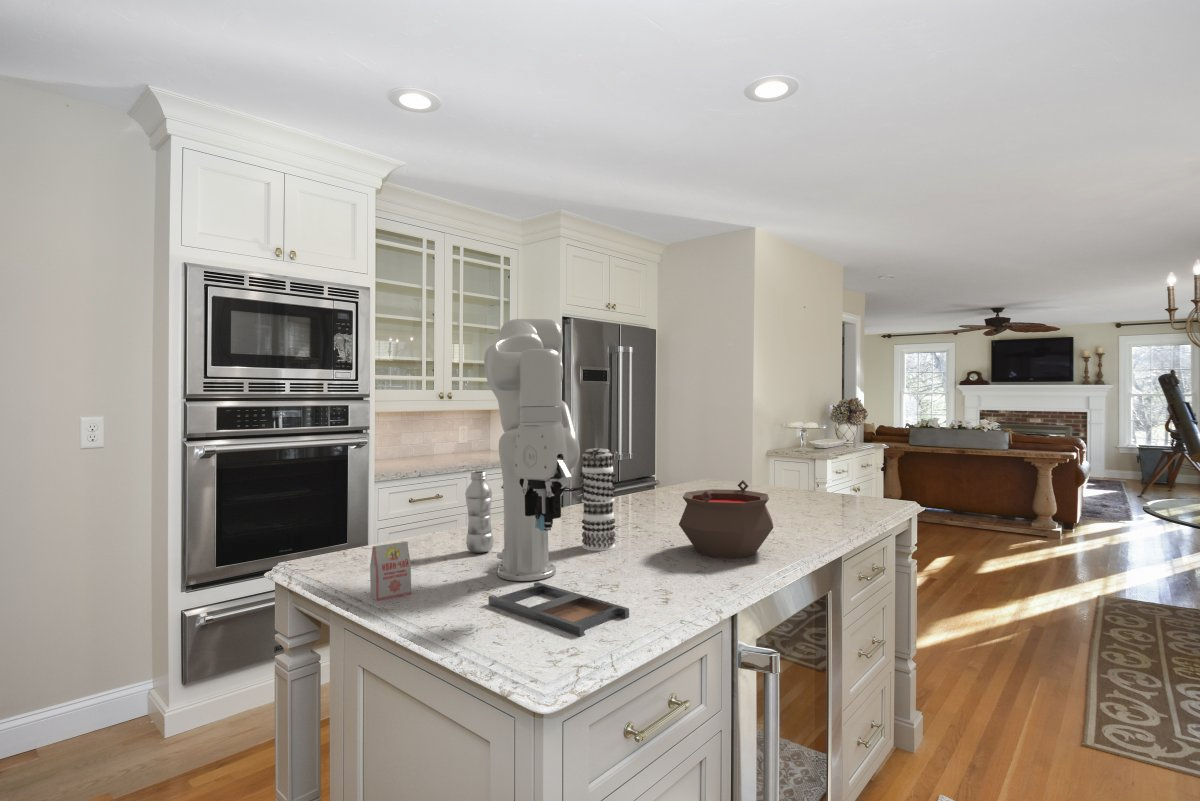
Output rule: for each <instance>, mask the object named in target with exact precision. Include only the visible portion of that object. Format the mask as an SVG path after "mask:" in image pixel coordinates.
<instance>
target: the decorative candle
mask: <svg viewBox="0 0 1200 801" xmlns="http://www.w3.org/2000/svg"><path fill="white" fill-rule="evenodd" d="M581 456H582V469H581V472H579V476H580V477H581V480H580V485H581V486H580V491H581V492H583V493H582V494H581V495H580V496H581V497H580V498H581V502H582V503H583V512H582V520H581V523H582V524H583V525H582V527H581V529H582V530H583V531H582V533H581V536H582V539H581V542H582V545H581V546H582V550H583V549H584V550H585V551H594V552H603V551H611V550H613V549H615V548H616V544H615V543H616V538H615V537H616V532H615V531H614V530H615V528H616V525H614V524H615V522H616V519H615V512H614V502H615V501H616V499H615V498H614V497H616V494H615V493H614V491H616V488H615V487H614V486H613V484H614V483H616V479H614V478H615V477H616V475H617V474H616V473H615V472H614V466H613V456H614V454H612V453H611V451H610V449H608V448H602V447H599V448H595V447H593V448H587V449H586V450H585V451H584V452H583V454H581Z"/></svg>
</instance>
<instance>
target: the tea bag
mask: <svg viewBox="0 0 1200 801" xmlns="http://www.w3.org/2000/svg"><path fill="white" fill-rule="evenodd" d="M371 549H372V550H371V557H370V565H369V572H370V573H369V575H370V576H369V577H370V581H369V582H370V584H369V585H370V597H371V598H373V599H374V600H375V601H378V602H379V601H381V600H382V601H383V600H387V599H388V600H389V599H392V598H397V597H401V596H407V595H411V594H412V566H411V565H412V564H411V563H412V562H411V557H410V550H409V542H408V540H407V541H400V542H394V543H389V544H388V543H387V544H382V545H381V544H380V545H374V546H372V548H371Z"/></svg>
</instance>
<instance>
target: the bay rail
mask: <svg viewBox="0 0 1200 801" xmlns="http://www.w3.org/2000/svg"><path fill="white" fill-rule="evenodd" d="M542 594H543V595H547V596H550V597H553V598H554V599H551V600H548V601H545V602H542V603H539V604H536V605H532V606H530V607H529V606H526V605H523V604H521V603H518V601H519V602H520V601H522V600H525V599H528V598H532V597H536V596H538V595H542ZM487 597H488V606H492V607H495V608H497V609H500V610H502V611H506V612H509V613H511V614H514V615H517V616H520V617H522V618H525V619H529V620H532V621H534V622H537V623H540V624H543V625H546V626H548V627H551V628H555V629H557V630H560V631H563V632H565V633H569V634H572V635H573V636H576V637H579V638H581V637H582V636H583V637H584V636H585V630H588V629H591V628H594V627H596V626H598V625H601V624H603V623H606V622H608V621H611V620H613V619H614V620H615V619H616V618H623V619H627V618H630V608H629V607H626V606H623V605H619V604H615V603H612V602H608V601H605V600H601V599H597V598H594V597H591V596H588V595H584V594H580V593H578V592H577V593H576V592H573V591H569V590H568V589H567V590H566V589H563V588H560V587H556V586H553V585H549V584H545V583H542V582H540V581H539V582H538V581H537V582H534V583H533V586H530V587H527V588H523V589H519V590H516V591H512V592H510V593H506V594H502V595H499V596H496V595H494V594H492V595H489V596H487Z"/></svg>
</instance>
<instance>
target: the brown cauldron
mask: <svg viewBox="0 0 1200 801" xmlns="http://www.w3.org/2000/svg"><path fill="white" fill-rule="evenodd" d="M743 485H744V487H743ZM737 487H738V489H718V488H717V489H713V488H712V489H701V490H694V491H692V490H691V491H686V492H685V493H684V494H683V496H682V499H683V500H684V502H685V503H686V504H685V505H686V506H685V507H684V510H683V513H682V514H681V518H680V520H679V523H678V526H679V527H680V529H681V530H682V532H684V534H685V536H686V537H687V539H688V540H689V541H690V544H692V546H693V547H694V549H695V550H696V552H697V553H698V554H702V555H705V556H708V557H711V558H716V559H717V558H719V559H720V558H721V559H722V558H723V559H724V558H725V559H741V558H747V557H751V556H755V555H756V553H757V552H758V550H759V549H760V547H761V546H762V544H763V543H764V542H765V541H766V539H767V538H768V536H769V534H771V532H772V531H773V529H774V522H773V518H772V516H771V514H770V512H769V509H768V507H767V505H766V504H767V503H768V501H769V500H770V497H769V494H768V493H763V492H758V491H753V490H747V488H749V485H748V484H747V483H746V482H745V480H744V479H742V480H741V481H740V482H739V483H738V484H737Z"/></svg>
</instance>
